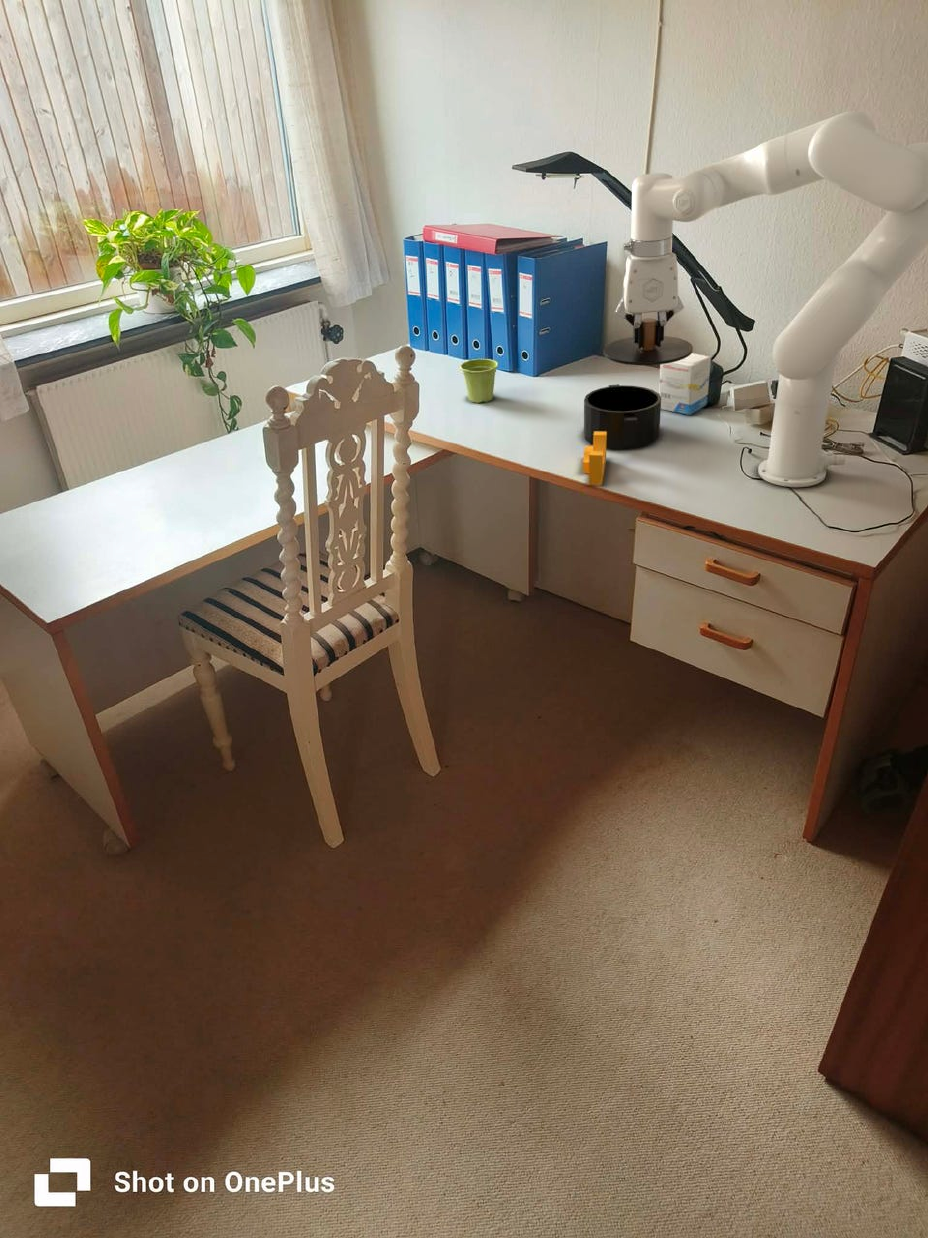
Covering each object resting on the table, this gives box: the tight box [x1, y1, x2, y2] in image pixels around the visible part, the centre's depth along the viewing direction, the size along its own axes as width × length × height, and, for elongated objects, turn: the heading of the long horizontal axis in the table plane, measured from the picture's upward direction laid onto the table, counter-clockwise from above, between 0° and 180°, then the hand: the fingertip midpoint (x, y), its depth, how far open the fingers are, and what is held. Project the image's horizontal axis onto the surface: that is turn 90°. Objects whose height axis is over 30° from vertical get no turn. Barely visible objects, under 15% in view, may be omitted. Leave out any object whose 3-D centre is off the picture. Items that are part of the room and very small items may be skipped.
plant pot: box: [459, 358, 499, 403], centre depth 217 cm, size 9×9×9 cm
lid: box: [603, 317, 694, 366], centre depth 173 cm, size 17×17×7 cm
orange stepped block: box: [582, 431, 607, 486], centre depth 178 cm, size 12×4×6 cm, turn 168°
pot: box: [583, 384, 662, 451], centre depth 192 cm, size 16×22×8 cm
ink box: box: [658, 352, 712, 416], centre depth 203 cm, size 9×8×12 cm
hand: (648, 344), depth 174 cm, fingers closed on lid, 3 cm apart
